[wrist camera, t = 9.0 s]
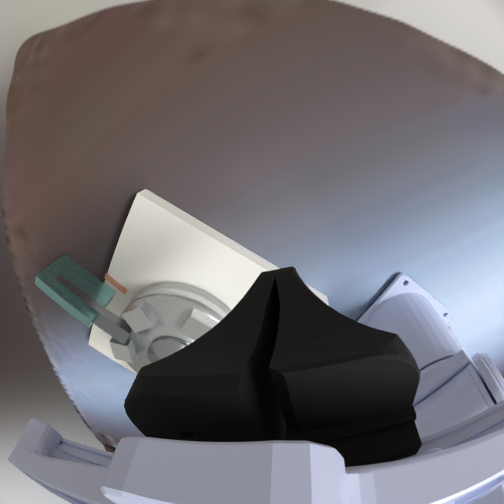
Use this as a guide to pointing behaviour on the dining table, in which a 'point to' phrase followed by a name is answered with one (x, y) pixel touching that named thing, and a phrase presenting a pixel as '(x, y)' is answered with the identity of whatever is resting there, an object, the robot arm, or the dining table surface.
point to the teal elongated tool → (134, 312)
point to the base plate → (175, 260)
